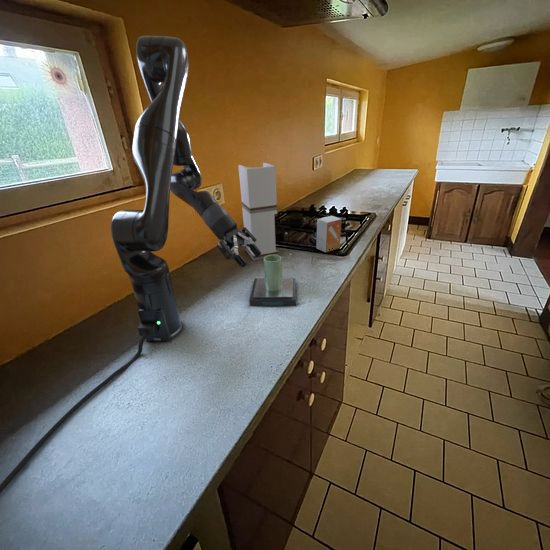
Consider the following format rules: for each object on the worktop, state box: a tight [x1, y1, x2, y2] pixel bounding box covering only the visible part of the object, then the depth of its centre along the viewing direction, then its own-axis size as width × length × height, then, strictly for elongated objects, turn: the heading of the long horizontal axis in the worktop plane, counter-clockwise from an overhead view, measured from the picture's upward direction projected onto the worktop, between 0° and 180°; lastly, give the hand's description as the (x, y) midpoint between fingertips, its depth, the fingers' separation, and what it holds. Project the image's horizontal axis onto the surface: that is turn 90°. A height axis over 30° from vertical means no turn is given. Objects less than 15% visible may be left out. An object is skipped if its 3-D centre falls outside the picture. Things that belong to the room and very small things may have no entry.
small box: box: [315, 215, 343, 253], centre depth 126 cm, size 8×6×13 cm
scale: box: [248, 277, 297, 307], centre depth 96 cm, size 14×14×3 cm
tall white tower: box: [238, 162, 280, 262], centre depth 119 cm, size 11×11×35 cm
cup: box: [263, 254, 283, 291], centre depth 94 cm, size 5×5×10 cm
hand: (252, 260), depth 95 cm, fingers open, 8 cm apart
